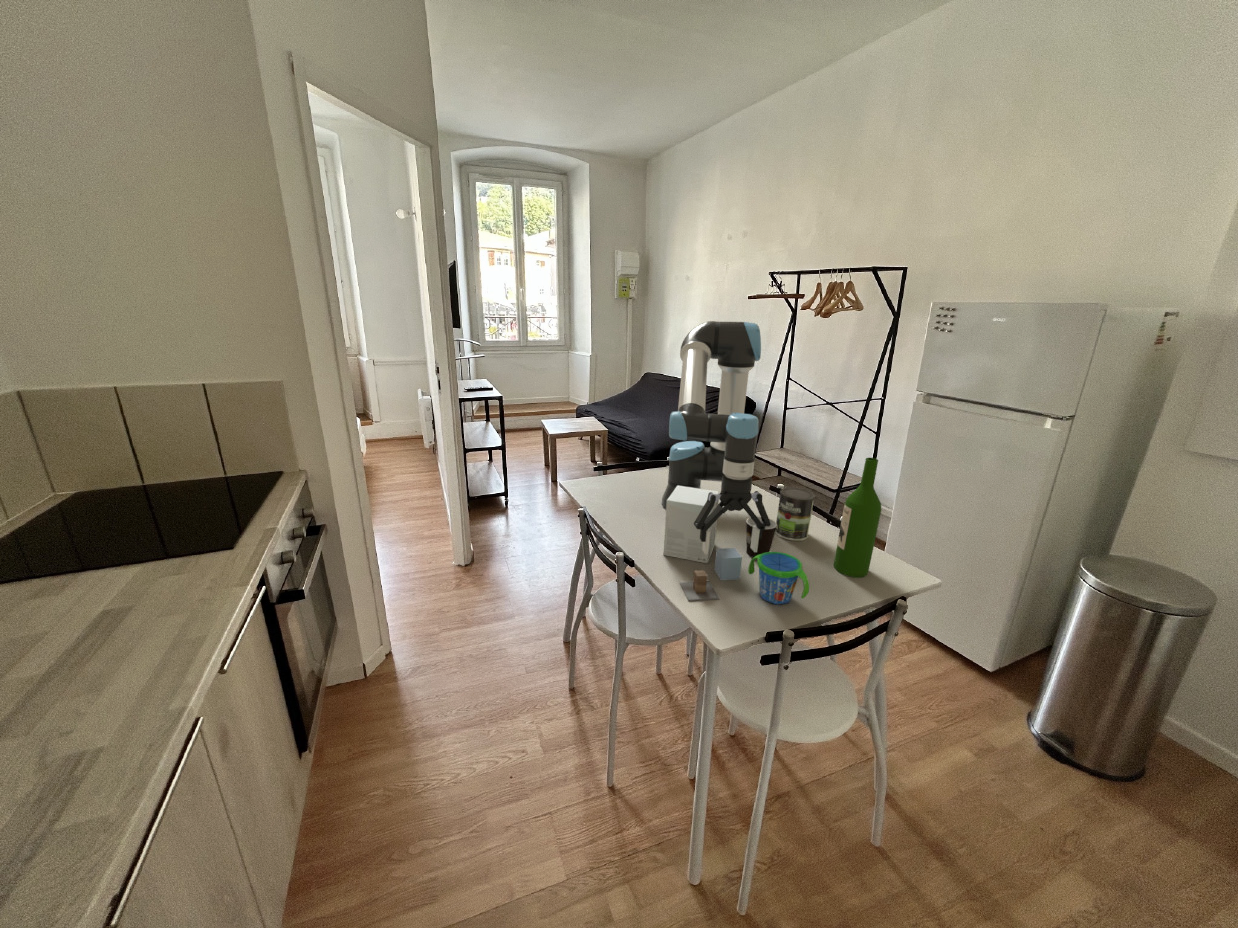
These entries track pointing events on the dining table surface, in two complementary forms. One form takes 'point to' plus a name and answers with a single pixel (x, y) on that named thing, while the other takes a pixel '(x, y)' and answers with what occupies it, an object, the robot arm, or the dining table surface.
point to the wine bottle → (859, 526)
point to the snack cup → (778, 576)
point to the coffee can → (794, 513)
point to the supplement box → (687, 524)
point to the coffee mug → (765, 541)
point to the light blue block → (728, 564)
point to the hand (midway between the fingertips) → (729, 551)
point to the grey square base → (699, 588)
